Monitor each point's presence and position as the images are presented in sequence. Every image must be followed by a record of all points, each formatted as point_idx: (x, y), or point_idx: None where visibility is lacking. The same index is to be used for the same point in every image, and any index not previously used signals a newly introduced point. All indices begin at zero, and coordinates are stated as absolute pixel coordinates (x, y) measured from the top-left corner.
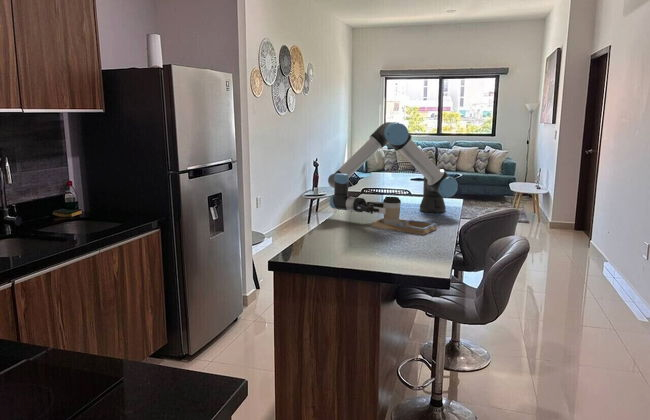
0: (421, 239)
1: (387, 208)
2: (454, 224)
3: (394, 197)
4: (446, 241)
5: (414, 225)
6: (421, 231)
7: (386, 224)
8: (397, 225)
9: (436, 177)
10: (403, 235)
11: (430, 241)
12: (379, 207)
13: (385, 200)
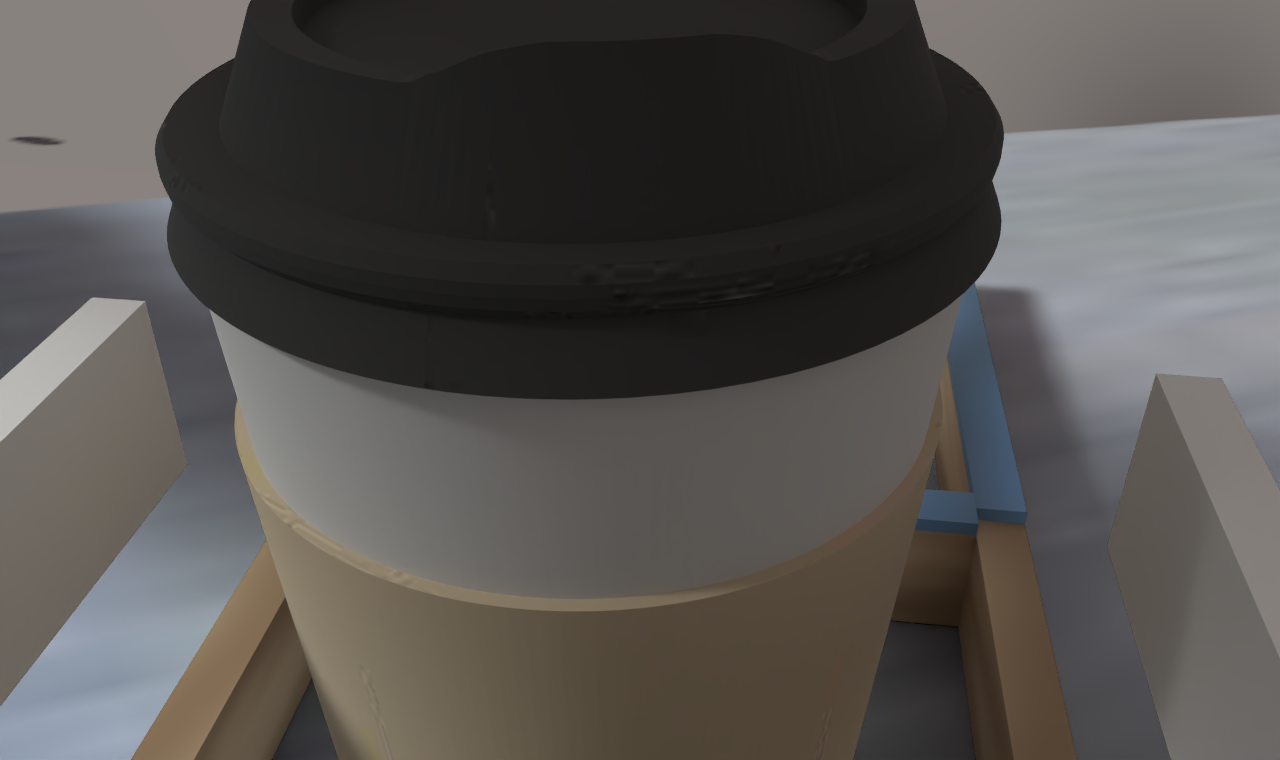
0: (1208, 274)
1: (935, 416)
2: (71, 208)
3: (317, 10)
4: (1051, 151)
5: None
6: None
7: (1070, 752)
8: (1021, 507)
9: None
10: None
11: (1199, 215)
12: (1249, 572)
13: (965, 162)
